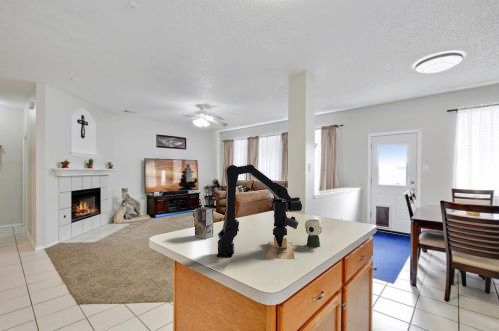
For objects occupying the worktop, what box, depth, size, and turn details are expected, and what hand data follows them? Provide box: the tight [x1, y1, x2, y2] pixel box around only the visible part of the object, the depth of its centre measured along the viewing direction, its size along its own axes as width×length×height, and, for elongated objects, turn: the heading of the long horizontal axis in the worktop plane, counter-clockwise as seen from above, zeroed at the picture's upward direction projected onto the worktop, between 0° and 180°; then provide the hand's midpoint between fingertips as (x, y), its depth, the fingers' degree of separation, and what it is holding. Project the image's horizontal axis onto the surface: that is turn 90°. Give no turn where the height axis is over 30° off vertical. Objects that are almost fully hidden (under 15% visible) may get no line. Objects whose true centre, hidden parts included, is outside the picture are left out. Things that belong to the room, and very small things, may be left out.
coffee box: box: [194, 206, 214, 240], centre depth 129 cm, size 9×6×16 cm
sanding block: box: [273, 236, 288, 248], centre depth 107 cm, size 6×4×4 cm, turn 82°
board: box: [265, 241, 296, 260], centre depth 104 cm, size 12×22×1 cm, turn 172°
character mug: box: [304, 218, 323, 248], centre depth 110 cm, size 11×7×13 cm, turn 30°
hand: (280, 245), depth 107 cm, fingers closed on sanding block, 4 cm apart
